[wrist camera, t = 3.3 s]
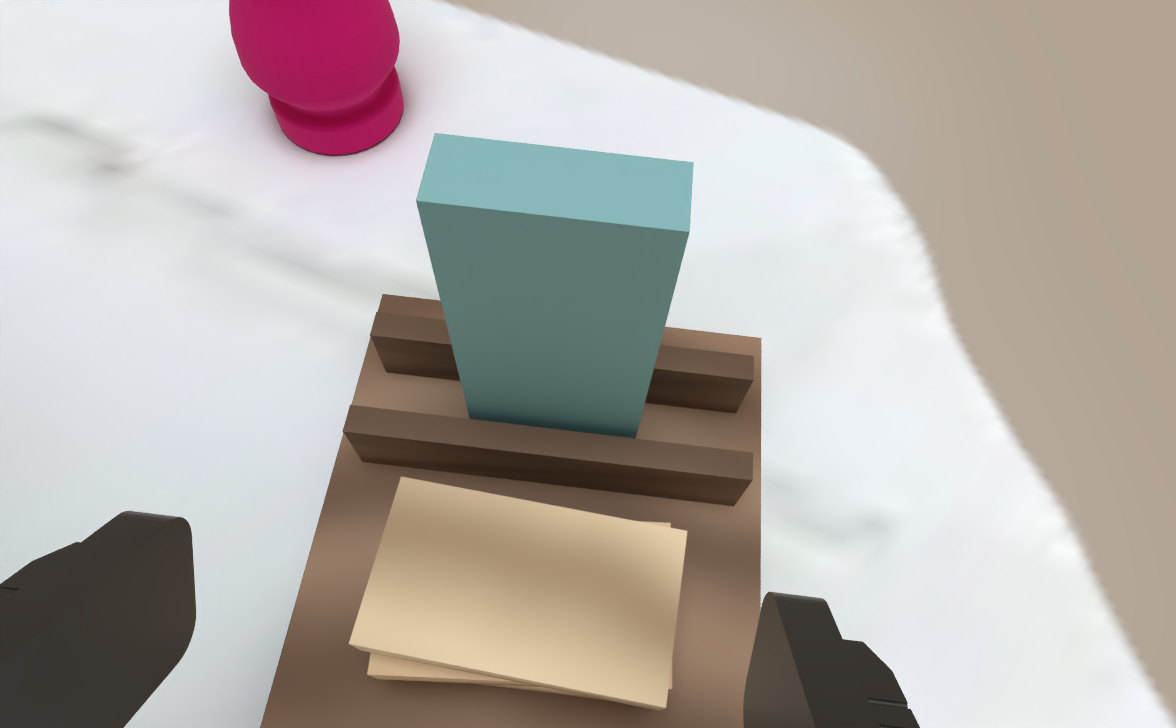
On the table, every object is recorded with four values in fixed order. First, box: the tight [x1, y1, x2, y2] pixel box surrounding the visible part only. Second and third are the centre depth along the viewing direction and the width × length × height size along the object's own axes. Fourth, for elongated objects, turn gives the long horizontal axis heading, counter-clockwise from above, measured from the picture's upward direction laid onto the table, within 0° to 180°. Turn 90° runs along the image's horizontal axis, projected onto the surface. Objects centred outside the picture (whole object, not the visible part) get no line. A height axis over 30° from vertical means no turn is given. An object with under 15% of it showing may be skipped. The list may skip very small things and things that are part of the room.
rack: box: [260, 294, 761, 728], centre depth 27 cm, size 17×16×4 cm
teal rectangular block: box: [416, 133, 693, 439], centre depth 23 cm, size 2×6×14 cm, turn 84°
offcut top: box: [349, 477, 687, 711], centre depth 23 cm, size 5×9×2 cm, turn 80°
